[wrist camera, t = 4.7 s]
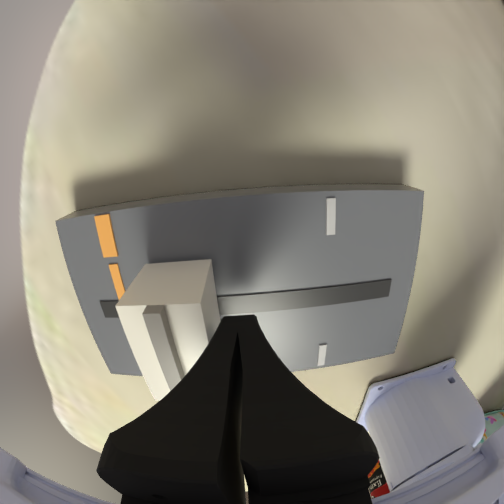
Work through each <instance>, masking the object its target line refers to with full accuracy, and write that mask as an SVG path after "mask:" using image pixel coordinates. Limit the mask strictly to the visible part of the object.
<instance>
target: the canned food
mask: <svg viewBox="0 0 504 504" xmlns="http://www.w3.org/2000/svg"><path fill="white" fill-rule="evenodd" d="M368 478H369V481H370V487H369V490H370V494H371V497H372V499H373V498H376V497H379V496H382V495H385V494H388V493H390V490H389V487H388V484H387V481H386V478H385V476H384V473H383V470H382V467H381V464H380V461H379V460H378V462H377V464H376V466H375V467H374V468H373V469H372V471H371V472H370V473H369V474H368Z"/></svg>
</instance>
